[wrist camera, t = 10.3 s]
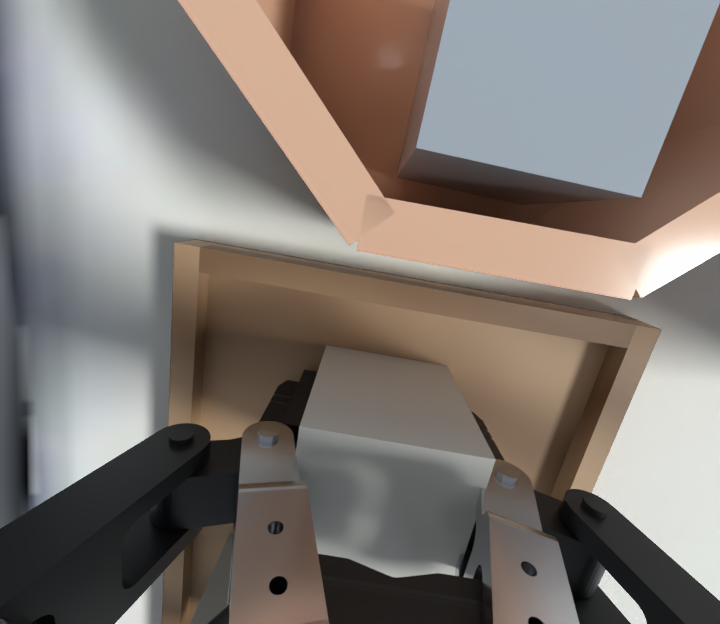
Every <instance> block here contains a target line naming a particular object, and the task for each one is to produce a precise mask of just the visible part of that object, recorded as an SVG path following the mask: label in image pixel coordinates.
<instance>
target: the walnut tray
mask: <svg viewBox="0 0 720 624" xmlns="http://www.w3.org/2000/svg"><path fill="white" fill-rule="evenodd" d="M660 332H661V329H659V328H656V327H654V326H651V325H648V324H646V323H643V322H641V321H638V320H636V319H633V318H631V317H626V316H620V315H615V314H609V313H603V312H598V311H592V310H587V309H581V308H575V307H570V306H564V305H559V304H553V303H548V302H542V301H536V300H531V299H525V298H520V297H514V296H508V295H503V294H497V293H492V292H486V291H481V290H475V289H469V288H464V287H458V286H453V285H447V284H441V283H436V282H430V281H425V280H419V279H414V278H408V277H402V276H397V275H391V274H386V273H380V272H374V271H369V270H363V269H358V268H352V267H347V266H341V265H335V264H330V263H324V262H319V261H313V260H307V259H302V258H296V257H291V256H285V255H280V254H274V253H268V252H263V251H257V250H252V249H246V248H240V247H235V246H229V245H224V244H218V243H212V242H207V241H201V240H189V241H182V242H175V243H174V265H173V296H172V327H171V358H170V390H169V421H168V426H171V425H175V424H181V423H193V424H198V425H201V426H203V427H205V428H206V429H207V430H208V431H209V432H210V435H211V440H229V439H236V438H239V437H242V434H243V432H244V430H245V429H246V428H247V427H248V426H250V425H252V424H254V423H257V422H259V421H260V419H261V417H262V415H263V413H264V411H265V410H266V408H267V406H268V404H269V402H270V401H271V398H272V396H273V395H274V393H275V391H276V389H277V387H278V386H279V385H280V384H282V383H283V382H285V381H287V380H291V381H297V382H299V381H300V378H301V376H302V374H303V371H304V369H305V370H311V371H317V372H318V369H319V366H320V363H321V360H322V357H323V354H324V351H325V348H326V345H329V346H335V347H341V348H346V349H352V350H358V351H364V352H369V353H375V354H381V355H387V356H392V357H398V358H404V359H410V360H415V361H421V362H427V363H432V364H438V365H444V366H448V368H449V370H450V372H451V374H452V376H453V377H454V379H455V381H456V383H457V385H458V387H459V389H460V391H461V393H462V395H463V397H464V399H465V401H466V403H467V405H468V407H469V409H470V411H471V412H474V413H475V414H476V415H477V416H478V417H479V418H480V419H481V420H483V422H484V424H485V425H486V427H487V429H488V432H489V433H490V435H491V436H492V440H494V442H495V444H496V446H497V447H498V449H499V451H500V453H501V455H502V456H503V458H504V460H505V461H506V462H509V463H511V464H513V465H515V466H516V467H518V468H519V469H521V470H522V471H523V472H524V473H525V474H526V475H527V476H528V477H529V478H530V480H531V482H532V485H533V489H534V490H535V491H538V492H540V493H543V494H545V495H548V496H550V497H553V498H556V499H558V500H561V501H562V500H563V497H564V495H565V492H566V491H567V490H569V489H580V490H584V491H587V492H590V493H592V490H593V488H594V486H595V483H596V481H597V479H598V476H599V474H600V472H601V469H602V467H603V465H604V462H605V460H606V458H607V455H608V453H609V451H610V448H611V446H612V444H613V441H614V439H615V437H616V435H617V432H618V430H619V428H620V425H621V423H622V421H623V418H624V416H625V414H626V411H627V409H628V407H629V404H630V402H631V400H632V397H633V395H634V393H635V390H636V388H637V386H638V383H639V381H640V379H641V376H642V374H643V372H644V369H645V367H646V365H647V362H648V360H649V358H650V355H651V353H652V351H653V348H654V346H655V344H656V341H657V339H658V337H659V334H660ZM211 440H210V441H211ZM233 526H234V523H230V524H222V525H214V526H207V527H203V528H202V530H201V531H200V533H199V534H198V535H197V536H196V537H195V538H194V539H193V540H192V541H191V542H190V544H189V545H188V546H187V547H186V548H185V549H184V550H183V551H182V552H181V553H180V554H179V555H178V556H177V557H176V559H175V560H174V561H173V562H172V563H171V564H170V565H169V566H168V567H167V568H166V569H165V570H164V577H163V608H162V624H190V622H191V620H192V618H193V616H194V613H195V611H196V609H197V607H198V604H199V602H200V600H201V597H202V595H203V593H204V591H205V588H206V586H207V584H208V582H209V579H210V577H211V575H212V572H213V570H214V568H215V566H216V563H217V561H218V559H219V557H220V554H221V552H222V550H223V548H224V545H225V543H226V541H227V538H228V536H229V534H230V532H233Z"/></svg>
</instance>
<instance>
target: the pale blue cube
mask: <svg viewBox="0 0 720 624" xmlns="http://www.w3.org/2000/svg"><path fill="white" fill-rule="evenodd" d="M719 4H720V0H435V3H434V7H433V10H432V15H431V19H430V24H429V28H428V33H427V37H426V42H425V46H424V51H423V56H422V60H421V65H420V69H419V74H418V78H417V83H416V87H415V92H414V96H413V101H412V106H411V110H410V115H409V119H408V124H407V128H406V133H405V137H404V142H403V146H402V151H401V156H400V160H399V165H398V169H397V174H396V178H400V179H405V180H409V181H414V182H419V183H423V184H428V185H432V186H437V187H441V188H446V189H451V190H455V191H460V192H464V193H469V194H473V195H478V196H483V197H487V198H492V199H496V200H501V201H506V202H510V203H515V204H519V205H531V204H547V203H563V202H579V201H595V200H612V199H628V198H641V197H642V194H643V192H644V190H645V187H646V185H647V182H648V180H649V177H650V175H651V172H652V170H653V167H654V165H655V162H656V160H657V157H658V155H659V152H660V150H661V147H662V145H663V142H664V140H665V138H666V135H667V133H668V130H669V128H670V125H671V123H672V120H673V118H674V115H675V113H676V110H677V108H678V105H679V103H680V100H681V98H682V95H683V93H684V91H685V88H686V86H687V83H688V81H689V78H690V76H691V73H692V71H693V68H694V66H695V63H696V61H697V58H698V56H699V53H700V51H701V48H702V46H703V43H704V41H705V39H706V36H707V34H708V31H709V29H710V26H711V24H712V21H713V19H714V16H715V14H716V11H717V9H718V6H719Z"/></svg>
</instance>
